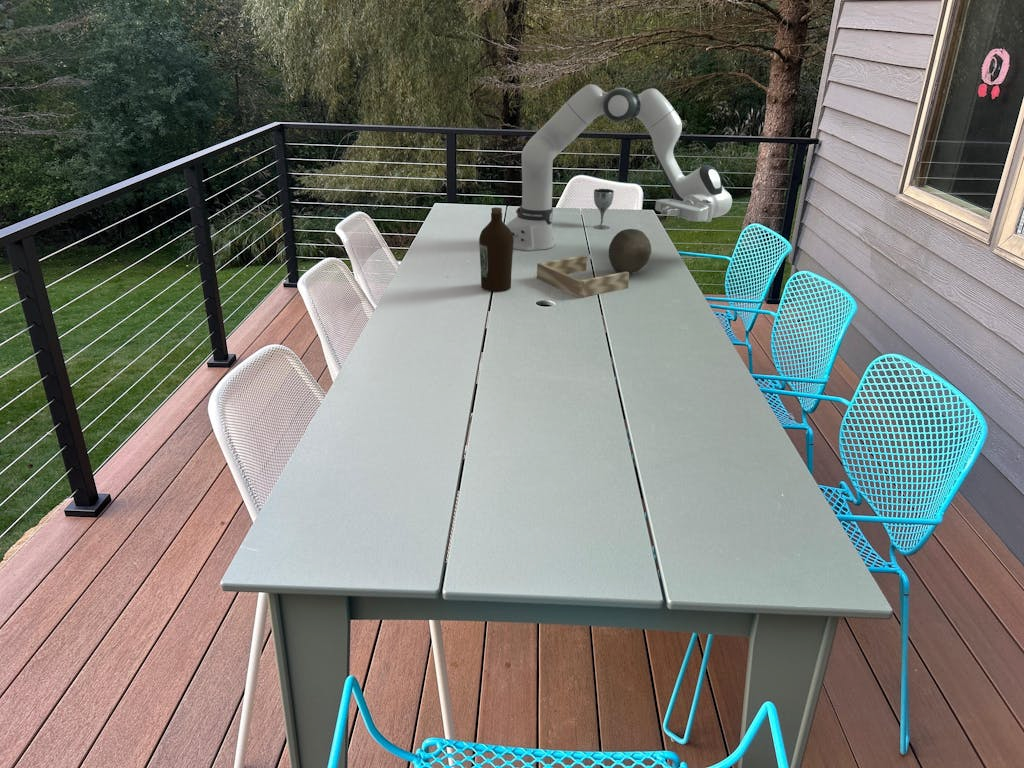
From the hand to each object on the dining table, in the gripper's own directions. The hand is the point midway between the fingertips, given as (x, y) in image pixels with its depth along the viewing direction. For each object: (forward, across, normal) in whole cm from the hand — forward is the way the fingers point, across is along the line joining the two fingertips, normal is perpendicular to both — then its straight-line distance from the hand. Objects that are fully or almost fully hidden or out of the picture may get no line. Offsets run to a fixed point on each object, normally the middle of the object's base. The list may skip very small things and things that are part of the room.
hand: (664, 212), depth 257 cm
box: (+33, 0, +19) cm, 38 cm away
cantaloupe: (+14, 0, +20) cm, 24 cm away
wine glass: (-20, -55, +19) cm, 62 cm away
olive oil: (+60, -10, +19) cm, 64 cm away
